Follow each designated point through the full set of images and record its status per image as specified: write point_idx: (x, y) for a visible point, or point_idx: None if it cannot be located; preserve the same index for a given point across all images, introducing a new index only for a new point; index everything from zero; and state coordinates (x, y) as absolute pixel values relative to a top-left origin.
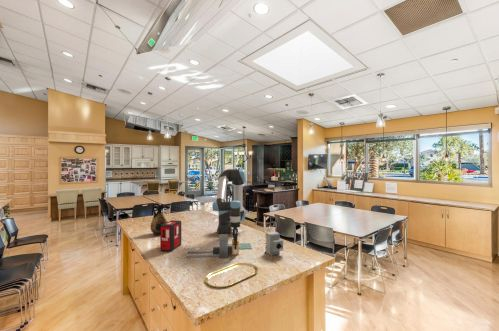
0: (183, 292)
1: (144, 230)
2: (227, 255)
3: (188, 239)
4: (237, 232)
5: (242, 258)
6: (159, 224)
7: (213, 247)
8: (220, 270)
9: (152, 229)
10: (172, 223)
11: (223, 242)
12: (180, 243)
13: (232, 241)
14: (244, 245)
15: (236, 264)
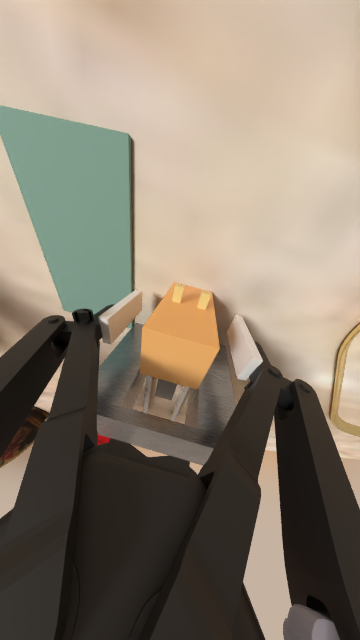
0: (355, 454)
1: None
2: (225, 354)
3: (50, 386)
4: (239, 579)
5: (280, 288)
6: (20, 446)
7: (164, 397)
8: (335, 400)
9: None
10: None
11: None
12: None
13: (198, 385)
14: (64, 200)
15: (346, 346)
